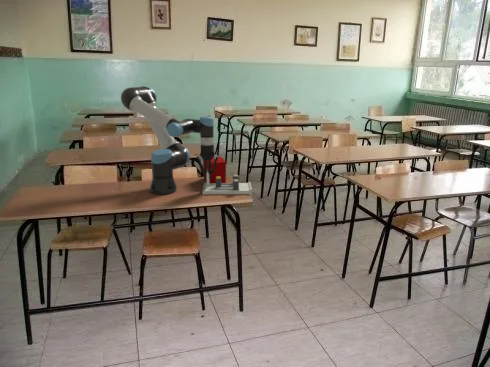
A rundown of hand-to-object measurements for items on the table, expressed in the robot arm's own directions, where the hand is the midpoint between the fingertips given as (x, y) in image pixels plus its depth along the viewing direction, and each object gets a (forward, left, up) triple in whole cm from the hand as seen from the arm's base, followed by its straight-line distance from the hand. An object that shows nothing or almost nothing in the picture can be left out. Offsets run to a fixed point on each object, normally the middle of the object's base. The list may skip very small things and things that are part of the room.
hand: (208, 184), depth 233 cm
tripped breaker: (+6, 0, -1) cm, 6 cm away
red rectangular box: (+3, +18, -4) cm, 19 cm away
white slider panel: (+11, 0, -4) cm, 12 cm away
